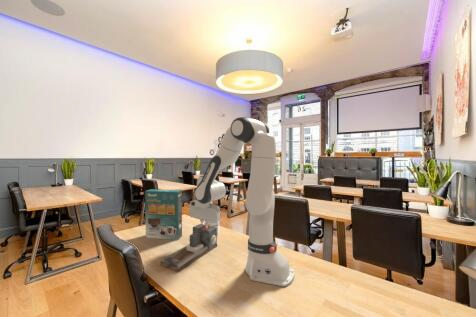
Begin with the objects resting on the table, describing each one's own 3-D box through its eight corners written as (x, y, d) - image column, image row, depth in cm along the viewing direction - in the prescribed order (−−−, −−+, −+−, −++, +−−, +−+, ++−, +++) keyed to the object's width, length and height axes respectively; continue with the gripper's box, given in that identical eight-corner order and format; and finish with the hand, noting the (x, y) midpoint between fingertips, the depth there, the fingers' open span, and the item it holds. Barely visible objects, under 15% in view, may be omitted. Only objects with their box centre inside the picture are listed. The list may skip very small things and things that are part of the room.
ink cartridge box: (205, 234, 144) (205, 212, 144) (207, 232, 149) (207, 210, 149) (218, 235, 143) (218, 213, 143) (219, 232, 148) (219, 211, 148)
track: (217, 246, 127) (217, 227, 126) (178, 272, 100) (178, 247, 99) (201, 242, 133) (201, 223, 132) (160, 265, 106) (159, 241, 105)
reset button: (209, 228, 127) (209, 226, 127) (205, 231, 123) (205, 228, 123) (204, 227, 129) (204, 225, 128) (199, 229, 125) (199, 227, 125)
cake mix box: (182, 235, 142) (181, 190, 141) (178, 239, 136) (177, 192, 135) (150, 233, 145) (150, 189, 144) (145, 237, 139) (145, 190, 138)
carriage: (203, 248, 120) (203, 233, 119) (196, 253, 114) (196, 237, 114) (193, 246, 123) (193, 231, 123) (186, 250, 118) (186, 234, 118)
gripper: (222, 204, 123) (222, 228, 123) (194, 199, 133) (194, 222, 133) (216, 206, 117) (216, 231, 118) (187, 202, 127) (187, 225, 128)
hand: (204, 226), depth 126 cm, fingers closed, pressing on reset button
